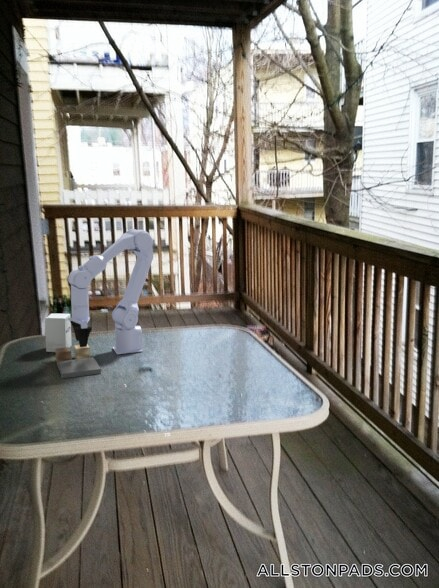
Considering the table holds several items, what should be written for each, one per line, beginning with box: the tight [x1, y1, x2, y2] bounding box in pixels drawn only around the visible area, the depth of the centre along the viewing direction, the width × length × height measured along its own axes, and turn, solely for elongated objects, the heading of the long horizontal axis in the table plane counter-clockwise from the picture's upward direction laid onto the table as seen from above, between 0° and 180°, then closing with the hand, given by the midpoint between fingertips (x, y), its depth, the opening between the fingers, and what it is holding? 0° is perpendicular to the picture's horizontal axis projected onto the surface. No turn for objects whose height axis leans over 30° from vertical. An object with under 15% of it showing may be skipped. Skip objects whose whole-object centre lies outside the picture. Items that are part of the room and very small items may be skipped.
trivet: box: [56, 357, 102, 379], centre depth 172 cm, size 12×12×2 cm
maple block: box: [73, 343, 91, 360], centre depth 183 cm, size 4×4×4 cm
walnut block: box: [55, 347, 72, 363], centre depth 179 cm, size 4×4×4 cm
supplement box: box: [44, 313, 72, 353], centre depth 191 cm, size 7×7×13 cm
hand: (81, 343), depth 182 cm, fingers open, 7 cm apart
